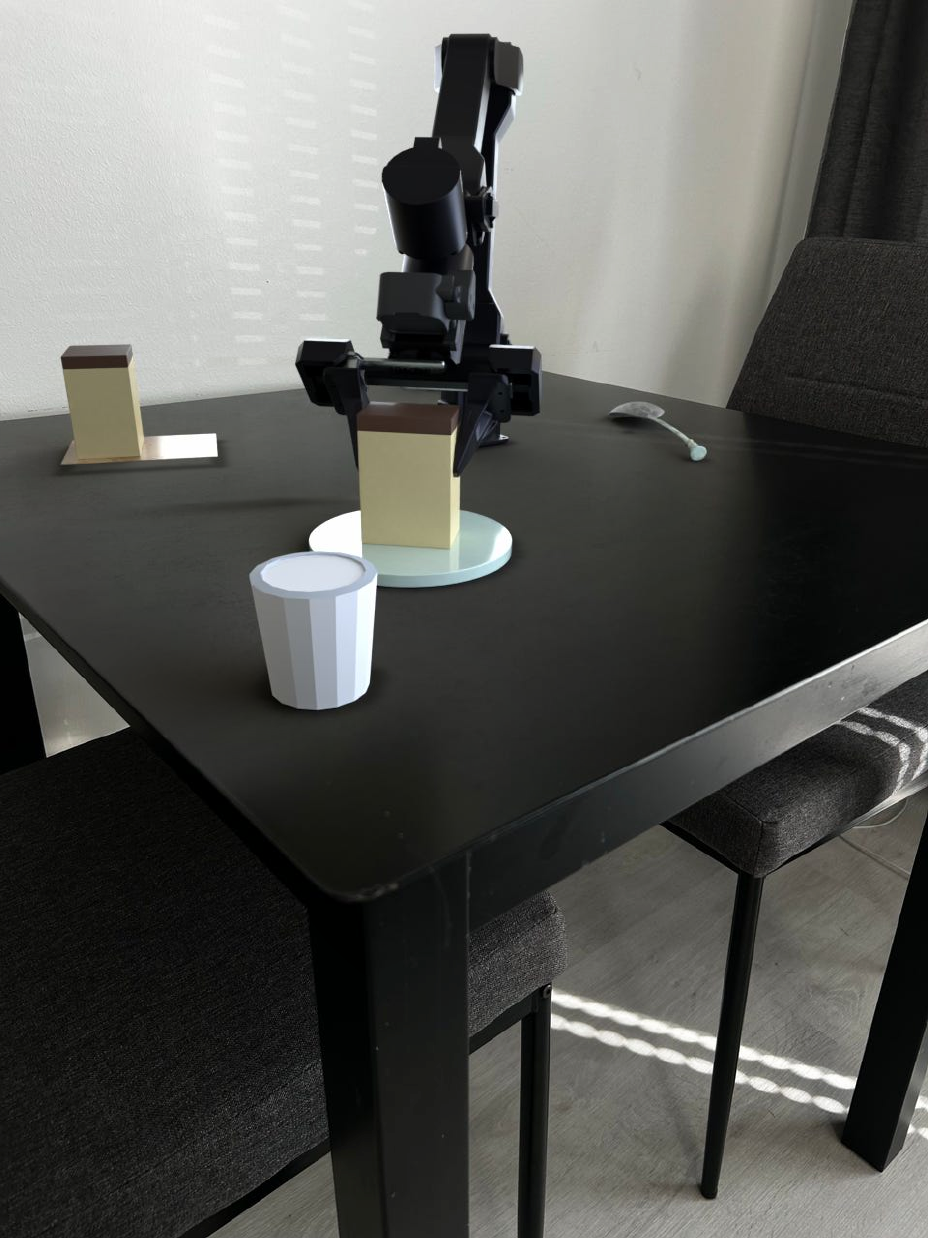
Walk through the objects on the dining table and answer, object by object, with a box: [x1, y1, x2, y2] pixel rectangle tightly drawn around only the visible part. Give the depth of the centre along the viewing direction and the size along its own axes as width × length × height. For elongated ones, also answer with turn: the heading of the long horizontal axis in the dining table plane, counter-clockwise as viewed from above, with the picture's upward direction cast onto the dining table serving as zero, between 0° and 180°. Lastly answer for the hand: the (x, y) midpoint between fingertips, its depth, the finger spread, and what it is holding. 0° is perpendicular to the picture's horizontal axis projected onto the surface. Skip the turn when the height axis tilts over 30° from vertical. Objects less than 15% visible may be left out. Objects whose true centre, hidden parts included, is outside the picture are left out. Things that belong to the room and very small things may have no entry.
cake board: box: [60, 433, 219, 466], centre depth 96 cm, size 15×10×1 cm, turn 105°
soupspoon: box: [608, 401, 707, 462], centre depth 107 cm, size 22×3×7 cm
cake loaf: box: [60, 343, 145, 459], centre depth 93 cm, size 6×7×10 cm
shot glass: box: [248, 551, 377, 711], centre depth 51 cm, size 7×7×7 cm
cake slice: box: [357, 401, 461, 549], centre depth 70 cm, size 4×7×10 cm, turn 82°
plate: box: [308, 509, 513, 589], centre depth 72 cm, size 16×16×1 cm
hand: (406, 472), depth 68 cm, fingers closed on cake slice, 7 cm apart
